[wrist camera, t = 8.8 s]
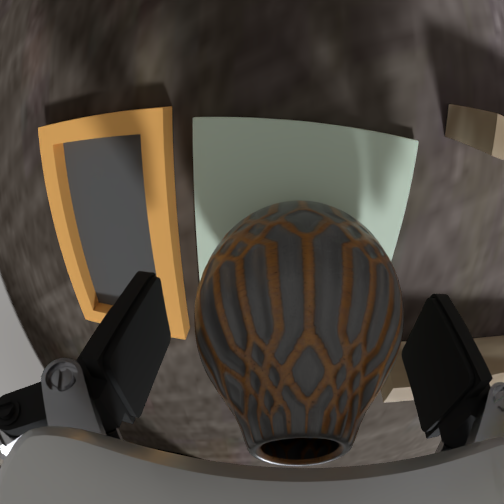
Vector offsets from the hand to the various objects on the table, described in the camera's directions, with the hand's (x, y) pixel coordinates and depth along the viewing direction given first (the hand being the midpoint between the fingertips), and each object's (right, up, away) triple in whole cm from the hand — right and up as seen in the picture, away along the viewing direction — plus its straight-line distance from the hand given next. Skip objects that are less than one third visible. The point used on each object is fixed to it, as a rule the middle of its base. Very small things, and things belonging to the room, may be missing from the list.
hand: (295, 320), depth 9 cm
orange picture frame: (-8, +3, +4) cm, 10 cm away
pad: (+1, +3, +4) cm, 4 cm away
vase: (+1, +2, +4) cm, 4 cm away
